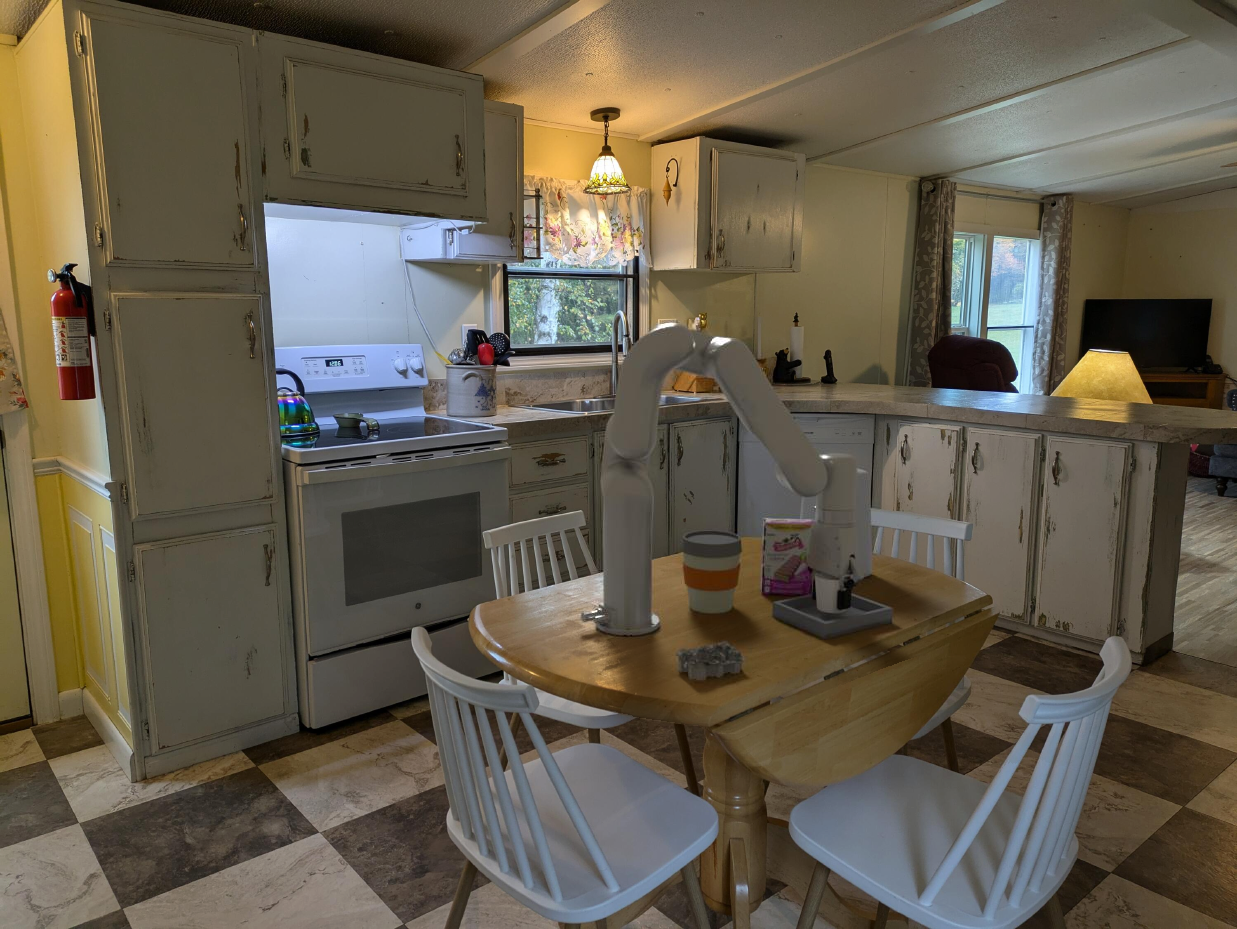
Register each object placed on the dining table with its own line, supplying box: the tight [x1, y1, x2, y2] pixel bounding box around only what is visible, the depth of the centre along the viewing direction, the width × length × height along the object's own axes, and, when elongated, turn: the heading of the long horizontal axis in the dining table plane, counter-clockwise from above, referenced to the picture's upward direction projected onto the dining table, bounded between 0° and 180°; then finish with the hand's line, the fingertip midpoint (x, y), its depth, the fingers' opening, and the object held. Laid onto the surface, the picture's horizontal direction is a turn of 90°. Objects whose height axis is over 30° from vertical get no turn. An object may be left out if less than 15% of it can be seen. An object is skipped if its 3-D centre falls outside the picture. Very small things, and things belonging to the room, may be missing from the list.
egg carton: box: [675, 640, 747, 681], centre depth 144 cm, size 11×8×4 cm
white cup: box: [815, 572, 848, 613], centre depth 169 cm, size 7×7×7 cm
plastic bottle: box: [799, 468, 873, 578], centre depth 200 cm, size 15×15×28 cm
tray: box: [771, 592, 894, 640], centre depth 169 cm, size 18×15×3 cm
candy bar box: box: [760, 517, 813, 596], centre depth 186 cm, size 11×5×16 cm, turn 84°
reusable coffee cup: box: [681, 529, 743, 614], centre depth 177 cm, size 12×13×15 cm
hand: (831, 603), depth 169 cm, fingers closed on white cup, 6 cm apart
